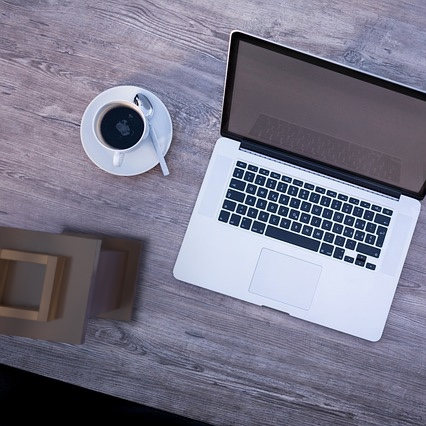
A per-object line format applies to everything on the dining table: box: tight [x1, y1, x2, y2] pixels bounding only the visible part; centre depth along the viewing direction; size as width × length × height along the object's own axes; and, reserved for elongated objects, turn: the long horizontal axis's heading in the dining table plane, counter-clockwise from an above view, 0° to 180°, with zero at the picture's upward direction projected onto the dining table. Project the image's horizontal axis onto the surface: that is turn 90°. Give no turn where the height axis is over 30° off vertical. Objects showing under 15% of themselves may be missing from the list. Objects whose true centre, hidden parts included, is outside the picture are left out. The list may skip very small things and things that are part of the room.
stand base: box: [61, 230, 145, 323], centre depth 90 cm, size 14×14×24 cm
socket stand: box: [0, 225, 102, 346], centre depth 76 cm, size 16×14×4 cm
